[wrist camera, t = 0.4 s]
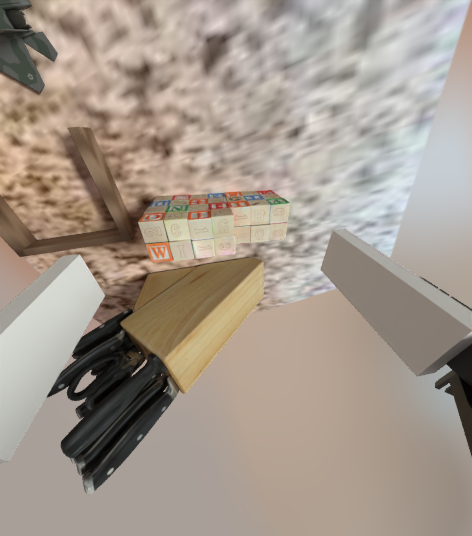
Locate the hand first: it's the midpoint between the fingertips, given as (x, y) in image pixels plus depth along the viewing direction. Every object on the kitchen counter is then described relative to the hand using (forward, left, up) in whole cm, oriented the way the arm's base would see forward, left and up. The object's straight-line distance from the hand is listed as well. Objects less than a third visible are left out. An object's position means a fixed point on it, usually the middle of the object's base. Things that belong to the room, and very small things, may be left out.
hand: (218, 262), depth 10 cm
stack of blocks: (+6, +1, -27) cm, 28 cm away
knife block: (+23, -8, -27) cm, 36 cm away
